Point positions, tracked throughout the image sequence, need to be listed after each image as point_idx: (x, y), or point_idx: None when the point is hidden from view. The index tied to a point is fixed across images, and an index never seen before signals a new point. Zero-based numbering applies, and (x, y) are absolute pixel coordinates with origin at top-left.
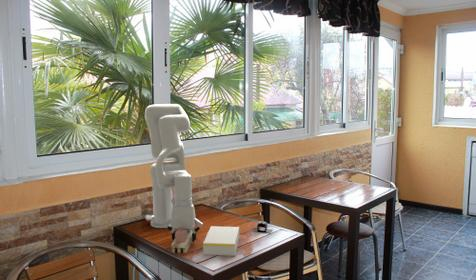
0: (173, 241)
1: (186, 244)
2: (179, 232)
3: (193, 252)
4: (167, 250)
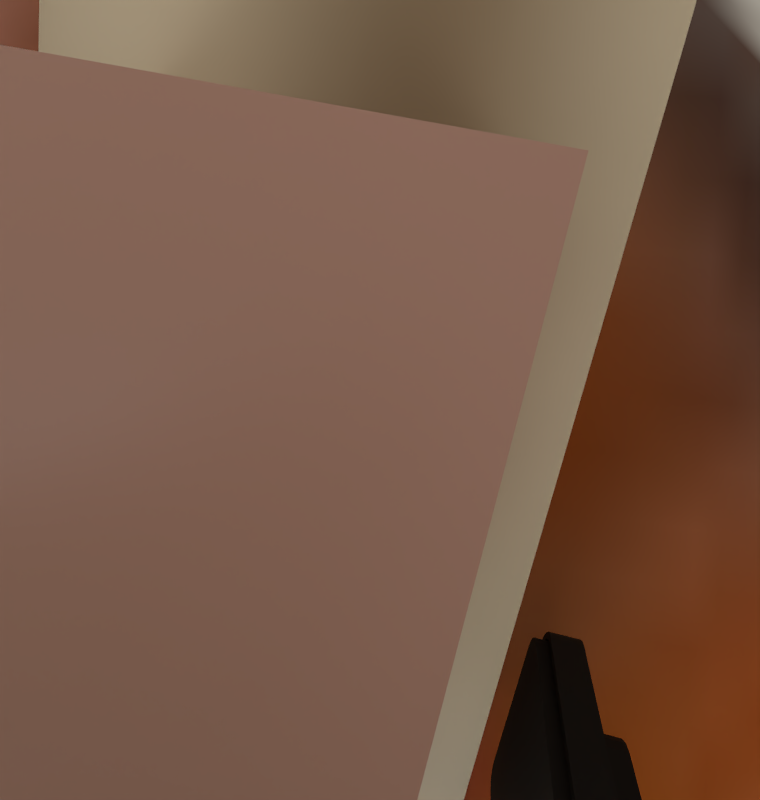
0: (603, 277)
1: (71, 13)
2: (116, 253)
3: (20, 12)
4: (748, 230)
